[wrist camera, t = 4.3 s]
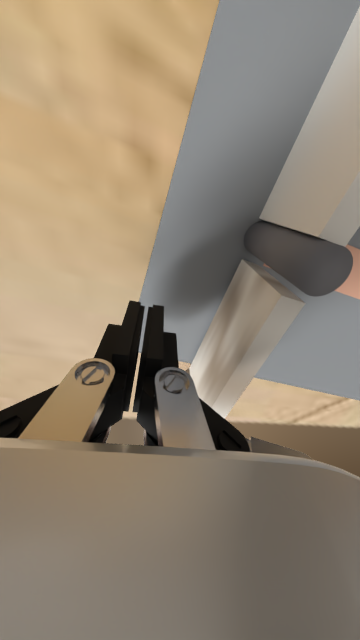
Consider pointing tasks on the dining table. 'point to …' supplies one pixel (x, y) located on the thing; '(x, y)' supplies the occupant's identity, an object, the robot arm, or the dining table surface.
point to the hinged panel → (242, 335)
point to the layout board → (271, 186)
